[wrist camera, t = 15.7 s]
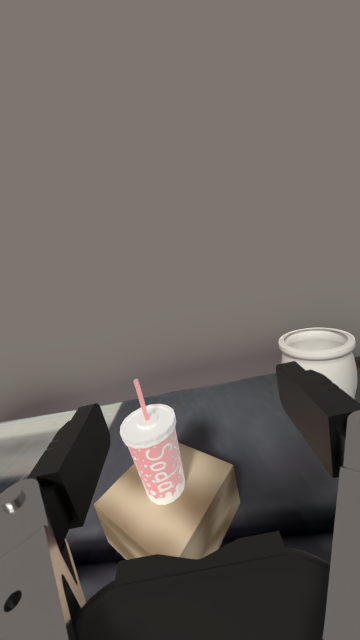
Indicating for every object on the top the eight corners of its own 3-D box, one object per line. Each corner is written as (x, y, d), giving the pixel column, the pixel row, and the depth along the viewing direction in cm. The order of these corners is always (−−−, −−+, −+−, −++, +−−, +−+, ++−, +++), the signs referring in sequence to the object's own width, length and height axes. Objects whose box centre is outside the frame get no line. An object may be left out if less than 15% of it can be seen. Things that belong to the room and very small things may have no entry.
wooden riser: (170, 467, 38) (161, 435, 37) (240, 502, 31) (233, 464, 29) (108, 542, 30) (93, 504, 28) (185, 618, 22) (170, 572, 21)
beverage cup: (136, 517, 26) (98, 402, 22) (144, 468, 32) (114, 372, 28) (193, 506, 25) (163, 389, 22) (190, 459, 31) (165, 361, 28)
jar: (293, 398, 48) (285, 327, 44) (358, 407, 42) (354, 326, 38) (281, 435, 40) (270, 351, 36) (360, 453, 34) (356, 355, 30)
